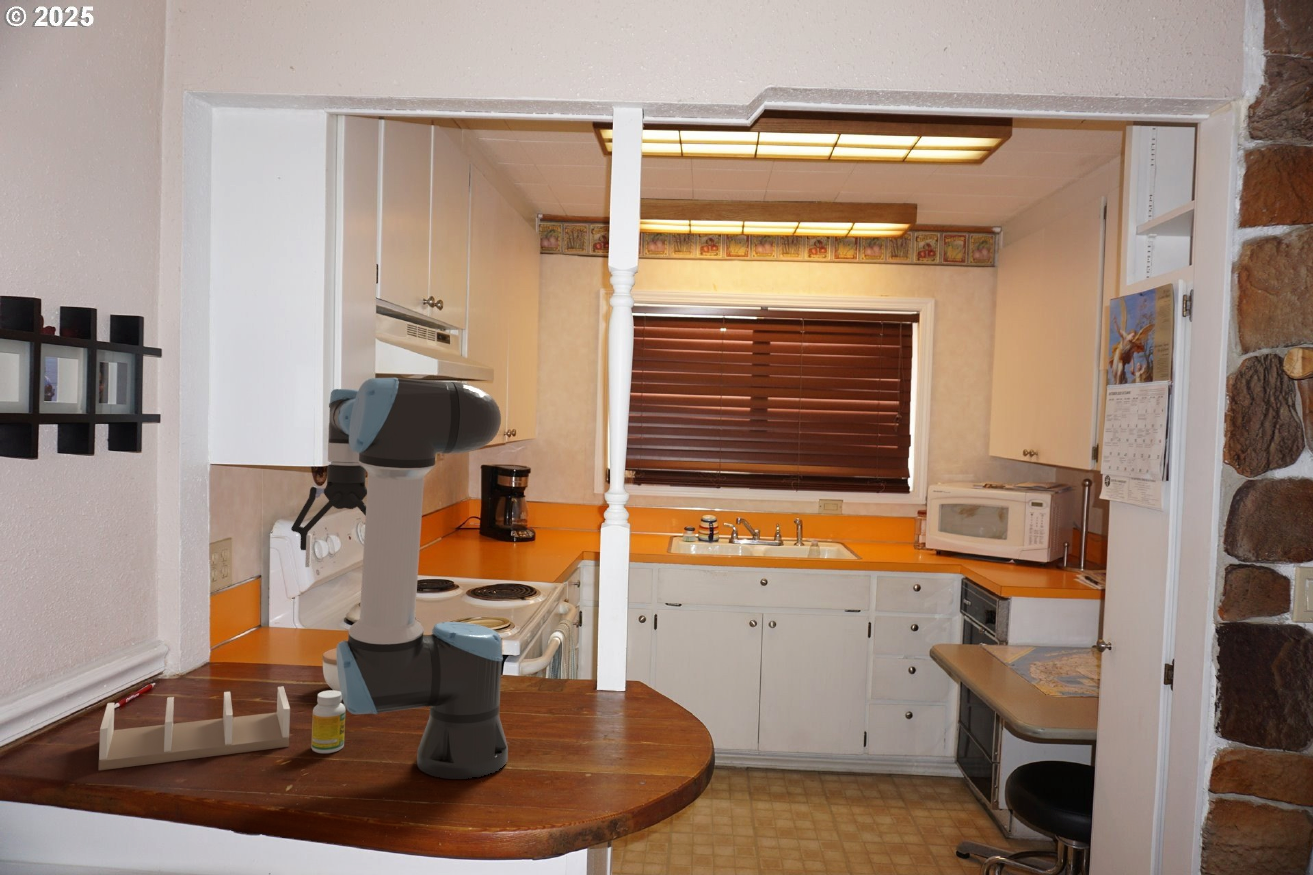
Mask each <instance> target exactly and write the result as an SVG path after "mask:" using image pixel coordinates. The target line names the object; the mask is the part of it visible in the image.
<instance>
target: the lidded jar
mask: <svg viewBox="0 0 1313 875" xmlns="http://www.w3.org/2000/svg"><path fill="white" fill-rule="evenodd" d="M336 651H337V647H335V648H332V649H327V651H325V652H323V653H322V672H323V677H324V678H323V679H324V681H325V683H326V684H327V685H328V686H329V688H331V689H332V690H335V691H340V692H341V690H340V684H339V678H338V670H337V658H336Z"/></svg>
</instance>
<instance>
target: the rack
mask: <svg viewBox="0 0 1313 875" xmlns="http://www.w3.org/2000/svg"><path fill="white" fill-rule="evenodd" d="M284 687H285V686H277V697H276V698H277V700H276V712H269V713H260V714H259V713H258V714H251V715H242V716H233V713H234V712H233V706H232V705H233V704H232V695H231V691H224V692H223V713H222V718H215V719H214V718H212V719H205V720H204V719H203V720H195V721H187V722H178V723H177V722H176V723H174V709H175V708H174V705H175V703H174V702H175V696H169V697H167V699H166V706H165V707H166V708H165V718H164V724H159V725H157V724H156V725H150V726H142V727H141V726H140V727H130V728H123V729H115V728H114V727H115V724H114V723H115V702H108V703H107V704H106V707H105V712H104V715H103V718H102V720H101V721H102V722H101V725H100V728H99V751H98V752H99V754H98V755H99V757H98V771H105V770H113V769H123V768H129V767H135V766H136V767H137V766H145V765H152V764H161V763H169V762H176V761H177V762H179V761H183V760H186V761H187V760H192V759H193V760H194V759H199V758H200V759H201V758H207V757H208V758H210V757H217V756H224V755H233V754H241V753H249V752H257V751H264V750H272V749H279V748H287V747H290V721H291V720H290V718H291V717H290V716H291V707H290V703H289V700H288V696H287V694H286V691H285V688H284Z"/></svg>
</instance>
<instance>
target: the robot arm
mask: <svg viewBox="0 0 1313 875" xmlns="http://www.w3.org/2000/svg"><path fill="white" fill-rule="evenodd" d="M328 408H329V419H328V420H329V421H328V422H329V423H328V425H329V427H328V445H327V461H328V462H329V463H330V464H328V465H327V470H326V486H325V487H317V486H316V485H312V486H311V487H310V488H309V489H310V490H309V495H308V498H307V500H306V502H305V503H304V505H303V507H302V509H301V510H300V512H299V513H298V516H297V517H296V518H295V521H294V523H293V525H292V526H291V528H290V529H291V531H292V532H293V533H298V534H299V535H300V542H299V543H300V546H299V547H300V551H305V568H310V566H311V563H312V562H311V561H312V560H311V559H312V539H313V536H312V535H313V534H312V533H309V532H310V530H312V528H313V527H314V526H315V525H316V524H317V523H318V522H319V521H320V520H321V519H322V518H323V517H324V516H325V514H327V513H328V512H329V511H330V510H331V508H335V509H336V510H343V509H348V510H354V509H356V508H358V510H359V511H361V512H362V514H363V515H364V516H365V522H364V523H365V524H364V537H363V538H364V539H363V541H364V542H363V555H362V557H363V558H362V572H361V574H362V575H361V587H360V588H361V589H360V590H361V591H360V605H359V618H358V619H357V621H355V622H354V623H353V624H352V625H351V626H349V629H348V639H347V640H346V639H345V640H342V641H339V642H338V643H337V645H336V648H337V651H336V658H337V670H338V678H339V684H340V690H341V695H342V702H343V705H344V706H345V710H347V712H348V713H350V714H352V715H369V714H374V715H378V714H381V713H388V712H396V711H397V712H398V711H404V710H412V709H419V708H428V707H429V717H428V721H427V723H426V726H425V729H424V731H423V735H422V736H421V739H420V743H419V745H418V748H417V752H416V753H417V754H416V755H417V756H416V765H417V768H418V769H419V771H421V772H423V773H424V774H427V775H429V776H432V777H435V778H439V777H440V778H441V779H446V780H467V779H468V778H469V779H473V778H472V777H477V778H480V777H481V776H482V777H485V776H484V775H486V776H489V775H491V774H490V773H492V774H494V773H496V772H495V771H497V772H498V771H500V770H501V769H500V768H502V767H503V766H504V765H505V764H507V763H508V759H509V758H508V756H509V754H508V753H509V747H508V743H507V738H506V735H505V733H504V728H503V725H502V722H501V717H500V706H501V704H500V703H501V685H502V684H501V682H502V664H503V660H504V658H503V657H504V656H503V649H502V648H503V646H502V644H503V642H502V638H501V636H500V634H499V633H498V632H497V631H496V630H494V629H492V628H490V627H487V626H484V625H480V624H477V623H476V624H475V623H472V622H471V623H470V622H462V621H461V622H460V621H444V622H438V623H436V624H435V625H434V626H433V628H432V629H431V634H424V627H423V625H422V624H420V622H418V620H416V610H417V609H416V606H417V595H418V594H417V592H418V591H417V589H418V578H419V577H418V576H419V563H420V562H419V560H420V548H421V547H420V545H421V532H422V516H423V515H422V514H423V499H424V489H425V487H424V486H425V477H426V475H427V474H428V473H429V472H430V471H432V470H433V469H434V468H435V467H436V459H437V458H436V456H437V455H438V454H448V455H449V454H451V455H452V454H464V453H468V452H470V453H471V452H473V451H476V450H479V449H481V448H484V447H485V446H487V445H488V444H490V443H491V442H492V441H493V440H494V439H495V437H496V436H497V434H498V432H499V431H500V427H501V423H502V415H501V411H500V407H499V406H498V403H497V402H496V400H495V399H494V398H493V397H492V396H491V395H490V394H489V393H488V392H486V391H485V390H483V389H482V388H479V387H478V386H475V385H473V384H472V385H471V384H468V383H464V382H458V381H441V380H440V381H439V380H429V379H428V380H427V379H425V380H424V379H415V378H414V379H413V378H412V379H411V378H397V377H375V378H374V377H373V378H368V379H367V380H365V381H364V382H362V384H361V385H360V387H359V389H351V388H350V389H349V388H348V389H347V388H344V389H343V388H335V389H332V390H331V392H330V398H329V403H328ZM366 472H367V474H366ZM366 475H367V487H366ZM322 494H324V496H325V497H326V499H327V500H328V501H327V502H326V503H325V504H324V506H323V507H322V508H320V510H319V511H318V512H317V513H316V514H315V515H314V516H313V517H312V519H310V520H309V521H308V523H306V525H305V526H301V525H302V523H303V522H304V520H305V518H306V516H307V515H308V512H309V511H310V509H311V507H312V506H313V504H314V503H315V500H316V499H318V498H320V497H321V495H322ZM365 498H366V503H365V502H364V501H363V500H364V499H365ZM506 762H507V763H506ZM505 766H506V765H505ZM505 766H504V767H505ZM504 767H503V768H504ZM503 768H502V769H503ZM499 769H500V770H499ZM488 774H489V775H488ZM469 779H468V780H469Z"/></svg>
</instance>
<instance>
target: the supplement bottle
mask: <svg viewBox="0 0 1313 875" xmlns="http://www.w3.org/2000/svg"><path fill="white" fill-rule="evenodd" d="M342 701H343V699H342V695H341V692H340V691H335V690H333V689H332V690H323V691H321V692H319V693H317V700H316V702H317V704H316V705H315V706H314V707H313V708H312V709H313V710H312V724H311V725H312V726H311V749H312V752H315V753H318V754H333V753H336V752H338V751H340V750H342V749H343V748H344V746H345V733H346V732H345V728H346V727H345V726H346V707H345V705H344V703H342Z"/></svg>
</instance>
